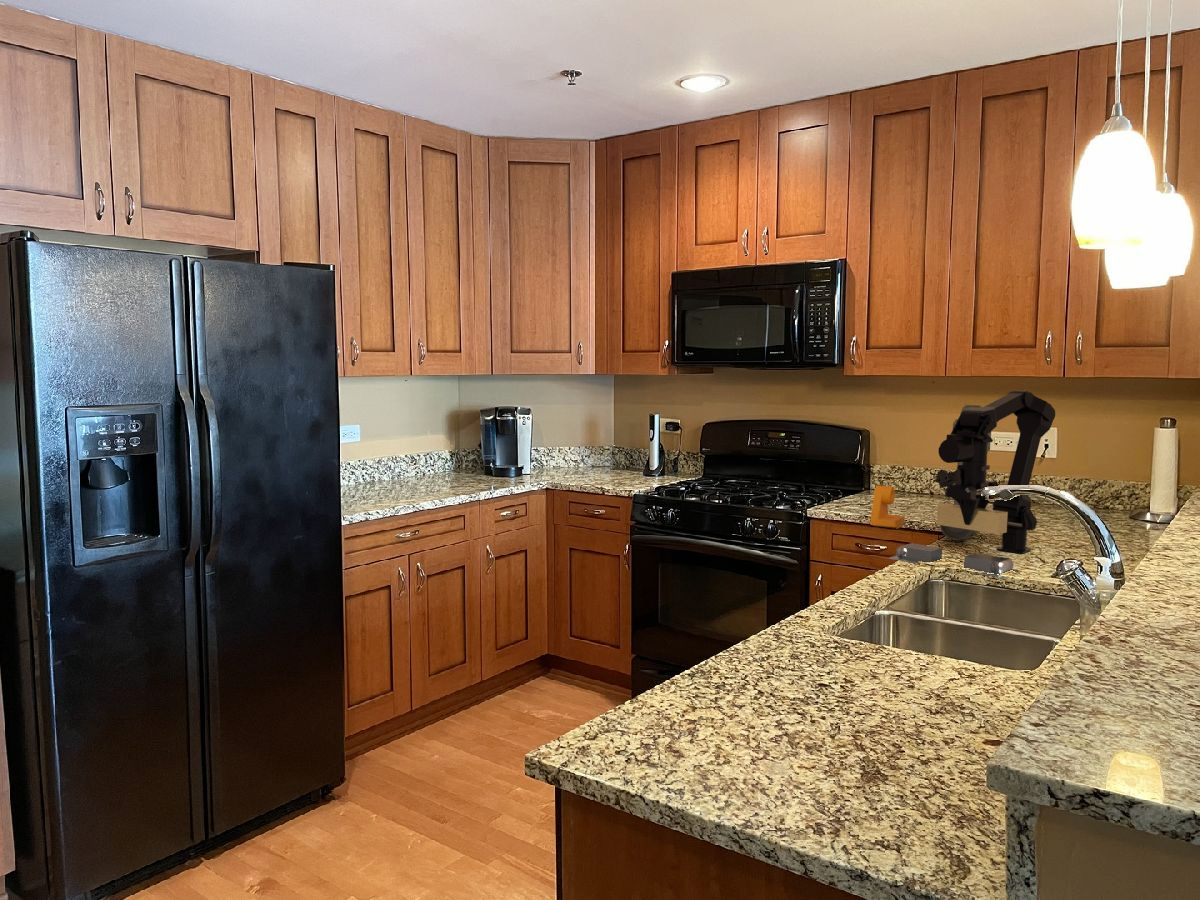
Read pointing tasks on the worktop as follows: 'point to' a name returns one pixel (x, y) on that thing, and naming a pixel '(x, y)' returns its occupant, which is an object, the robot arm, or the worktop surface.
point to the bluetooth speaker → (956, 532)
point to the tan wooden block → (981, 520)
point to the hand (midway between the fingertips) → (971, 523)
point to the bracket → (884, 508)
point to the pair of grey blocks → (971, 561)
